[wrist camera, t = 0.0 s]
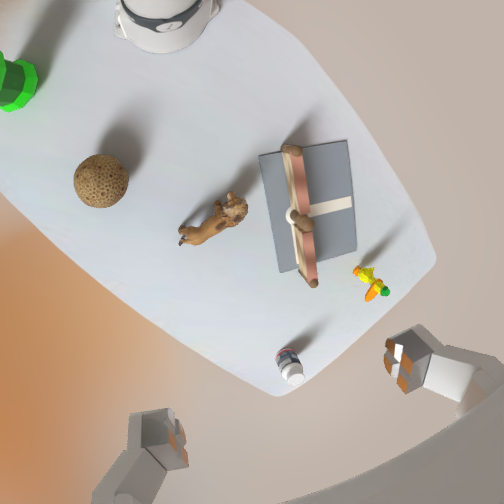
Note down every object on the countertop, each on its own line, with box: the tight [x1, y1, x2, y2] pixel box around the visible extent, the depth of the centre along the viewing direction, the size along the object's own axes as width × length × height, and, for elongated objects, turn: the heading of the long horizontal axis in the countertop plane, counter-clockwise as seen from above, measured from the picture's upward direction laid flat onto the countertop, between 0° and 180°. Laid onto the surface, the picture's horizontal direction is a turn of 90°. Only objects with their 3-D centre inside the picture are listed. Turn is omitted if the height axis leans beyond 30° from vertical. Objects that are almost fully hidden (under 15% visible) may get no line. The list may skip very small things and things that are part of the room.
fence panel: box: [281, 144, 311, 215], centre depth 53 cm, size 12×2×6 cm, turn 11°
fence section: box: [290, 209, 318, 288], centre depth 59 cm, size 15×2×7 cm, turn 11°
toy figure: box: [353, 266, 390, 302], centre depth 63 cm, size 7×4×12 cm, turn 147°
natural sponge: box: [74, 154, 129, 208], centre depth 45 cm, size 9×9×10 cm
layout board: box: [259, 141, 356, 273], centre depth 60 cm, size 24×18×1 cm
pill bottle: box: [275, 348, 304, 385], centre depth 70 cm, size 5×5×9 cm
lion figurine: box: [178, 192, 248, 246], centre depth 53 cm, size 15×5×9 cm, turn 130°
